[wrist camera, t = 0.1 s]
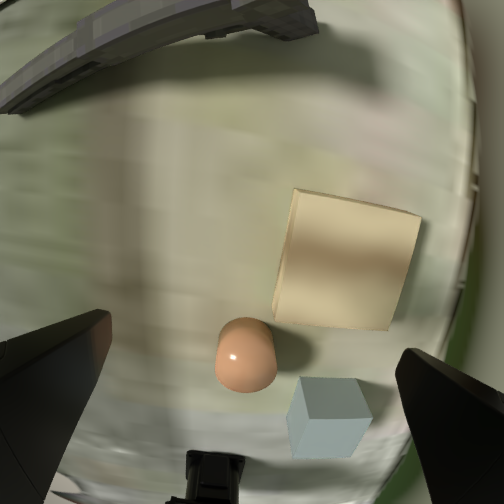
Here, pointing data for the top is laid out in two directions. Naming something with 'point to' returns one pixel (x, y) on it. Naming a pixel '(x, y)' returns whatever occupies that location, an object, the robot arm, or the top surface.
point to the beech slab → (343, 262)
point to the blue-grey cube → (327, 418)
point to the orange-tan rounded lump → (246, 356)
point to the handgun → (145, 39)
